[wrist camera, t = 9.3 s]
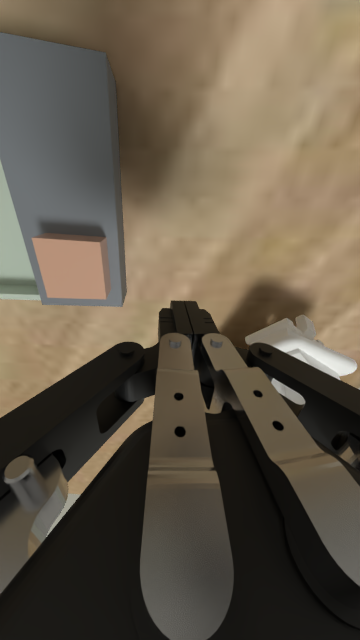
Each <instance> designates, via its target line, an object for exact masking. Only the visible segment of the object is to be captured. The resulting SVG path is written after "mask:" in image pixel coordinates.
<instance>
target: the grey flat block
mask: <svg viewBox="0 0 360 640" xmlns="http://www.w3.org/2000/svg"><path fill="white" fill-rule="evenodd" d="M0 161H1V164H2V167H3V171H4V174H5V178H6V181H7V185H8V188H9V191H10V195H11V198H12V202H13V205H14V209H15V212H16V216H17V219H18V222H19V226H20V229H21V233H22V236H23V240H24V243H25V247H26V250H27V253H28V257H29V260H30V264H31V267H32V271H33V274H34V277H35V281H36V284H37V288H38V291H39V295H40V298H41V302H42V305H79V306H117V307H122V306H123V303H124V299H125V296H126V293H127V289H126V270H125V250H124V231H123V212H122V193H121V173H120V154H119V135H118V116H117V96H116V82H115V79H114V76H113V73H112V70H111V67H110V64H109V61H108V58H107V55H106V53H105V52H100V51H95V50H90V49H85V48H79V47H74V46H69V45H64V44H59V43H54V42H48V41H43V40H38V39H33V38H28V37H22V36H17V35H12V34H7V33H2V32H0ZM44 233H55V234H69V235H83V236H97V237H106V238H107V249H108V260H109V271H110V281H111V291H110V293H109V295H108V297H107V299H74V298H48V297H47V293H46V290H45V286H44V282H43V279H42V275H41V271H40V267H39V264H38V260H37V256H36V253H35V249H34V245H33V242H32V237H35V236H38V235H41V234H44Z"/></svg>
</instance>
